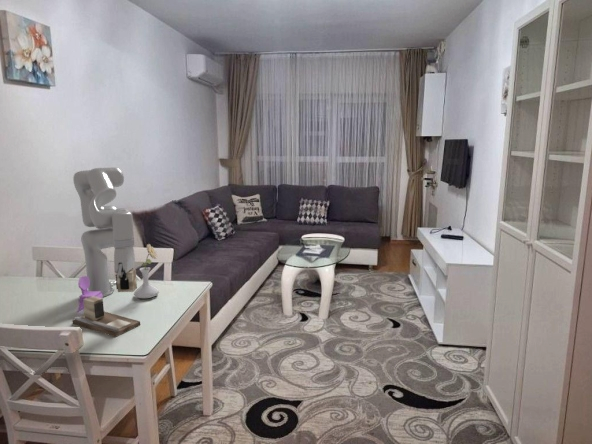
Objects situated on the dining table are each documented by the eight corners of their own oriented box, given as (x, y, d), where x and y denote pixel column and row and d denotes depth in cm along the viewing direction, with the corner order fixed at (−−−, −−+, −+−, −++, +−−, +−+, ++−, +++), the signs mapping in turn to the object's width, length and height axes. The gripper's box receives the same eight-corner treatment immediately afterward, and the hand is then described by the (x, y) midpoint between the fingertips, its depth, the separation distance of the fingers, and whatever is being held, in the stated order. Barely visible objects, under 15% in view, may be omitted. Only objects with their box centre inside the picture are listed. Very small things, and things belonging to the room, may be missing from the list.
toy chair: (96, 313, 177) (93, 280, 174) (75, 313, 177) (72, 280, 174) (105, 306, 185) (102, 274, 182) (86, 305, 185) (82, 274, 182)
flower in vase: (148, 302, 190) (145, 249, 185) (128, 298, 194) (125, 247, 189) (166, 292, 202) (163, 243, 198) (147, 289, 206) (143, 241, 201)
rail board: (98, 313, 177) (97, 292, 175) (140, 324, 166) (138, 302, 164) (72, 323, 167) (70, 301, 165) (115, 336, 155) (113, 313, 154)
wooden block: (133, 291, 163) (131, 272, 162) (116, 291, 163) (114, 272, 162) (137, 288, 168) (135, 269, 166) (120, 288, 167) (119, 269, 166)
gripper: (122, 238, 170) (125, 280, 173) (105, 248, 153) (109, 294, 157) (140, 238, 170) (143, 280, 174) (125, 248, 154) (129, 294, 157)
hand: (127, 286), depth 165 cm, fingers closed on wooden block, 4 cm apart
